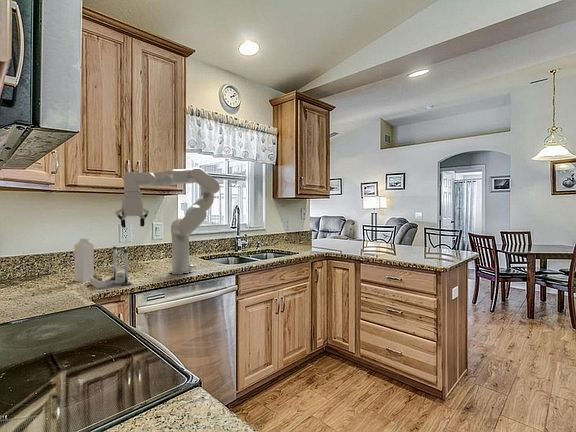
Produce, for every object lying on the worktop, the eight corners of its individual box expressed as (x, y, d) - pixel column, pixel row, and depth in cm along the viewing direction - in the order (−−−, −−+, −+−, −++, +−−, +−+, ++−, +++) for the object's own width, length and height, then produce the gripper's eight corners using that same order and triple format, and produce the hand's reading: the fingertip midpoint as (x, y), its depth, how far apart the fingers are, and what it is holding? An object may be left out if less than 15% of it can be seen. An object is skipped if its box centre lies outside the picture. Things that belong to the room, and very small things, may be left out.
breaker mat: (120, 279, 171) (120, 270, 171) (134, 286, 156) (134, 276, 156) (87, 284, 161) (87, 274, 161) (99, 292, 146) (99, 281, 145)
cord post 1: (118, 278, 170) (117, 245, 170) (120, 279, 168) (120, 246, 167) (109, 279, 168) (109, 246, 167) (111, 280, 165) (111, 246, 164)
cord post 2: (129, 283, 158) (129, 248, 158) (132, 285, 155) (131, 249, 155) (120, 284, 155) (120, 249, 155) (123, 286, 152) (122, 250, 152)
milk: (85, 280, 169) (85, 238, 169) (94, 281, 167) (94, 238, 166) (74, 283, 163) (74, 239, 163) (82, 284, 161) (82, 239, 161)
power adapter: (116, 280, 165) (115, 268, 165) (126, 279, 167) (126, 268, 167) (114, 284, 155) (114, 272, 155) (125, 284, 157) (125, 271, 157)
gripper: (145, 195, 185) (146, 225, 185) (112, 195, 172) (113, 227, 173) (151, 195, 179) (151, 226, 180) (117, 194, 167) (118, 228, 168)
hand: (133, 226), depth 176 cm, fingers open, 9 cm apart
